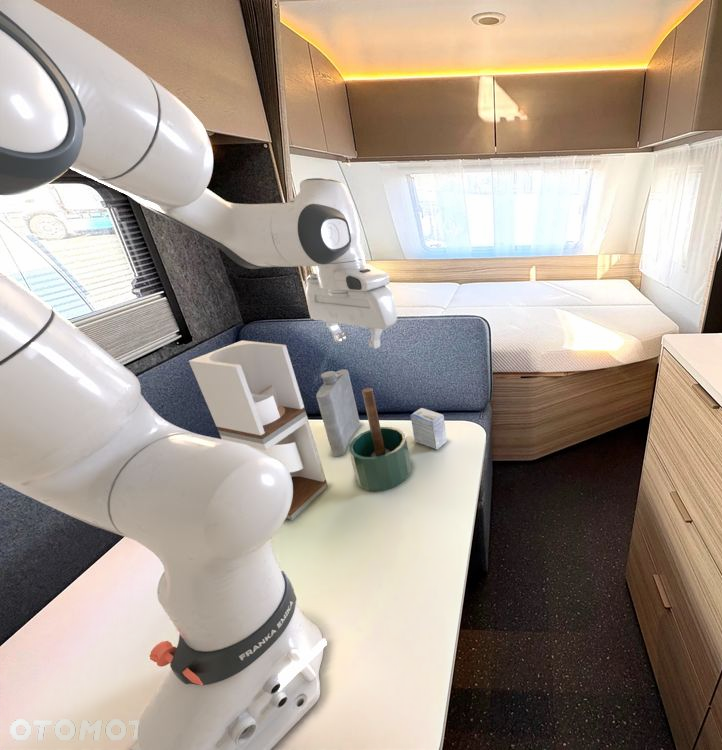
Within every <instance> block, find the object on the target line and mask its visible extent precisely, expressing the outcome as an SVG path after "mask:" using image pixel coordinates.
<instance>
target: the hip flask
mask: <svg viewBox="0 0 722 750" xmlns="http://www.w3.org/2000/svg"><path fill="white" fill-rule="evenodd" d="M320 378H321V379H322V381H323V383H322V385H321V386H320V387H319V388H318V391H317V393H316V395H315V396H316V400H317V405H318V408H319V411H320V415H321V418H322V422H323V426H324V429H325V434H326V437H327V441H328V444H329V448H330V451H331V455H332V456H333V457H341V456H343V455H344V454H345V453H346V449H347V447H348V445H349V442H350V441H351V438H352V437H353V435H354V434H355V433H356V431H357V430H358V429H359V428H360V427H361V423H360V422H361V421H360V417H359V412H358V407H357V404H356V399H355V395H354V390H353V387H352V386H353V385H352V382H351V377H350V373H349V370H348V369H338V370H337V371H333V370H329V371H325V372H323V373H321V374H320Z"/></svg>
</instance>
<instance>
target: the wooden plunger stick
mask: <svg viewBox="0 0 722 750" xmlns="http://www.w3.org/2000/svg"><path fill="white" fill-rule="evenodd" d="M361 392H362V397H363V402H364V407H365V411H366V417H367V420H368V426H369V430H371V435H372V440H373V444H374V449H375V451H374V452H373V453H372V455H371V457H377V456H381V455H385V454H387V453H389V452H390V451H389V450H388V449H385V448H384V443H383V438H382V433H381V428H380V427H381V423H380V419H379V414H378V408H377V403H376V399H375V394H374V390H373V388H372V387H366V388H363V389H362V390H361Z"/></svg>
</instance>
